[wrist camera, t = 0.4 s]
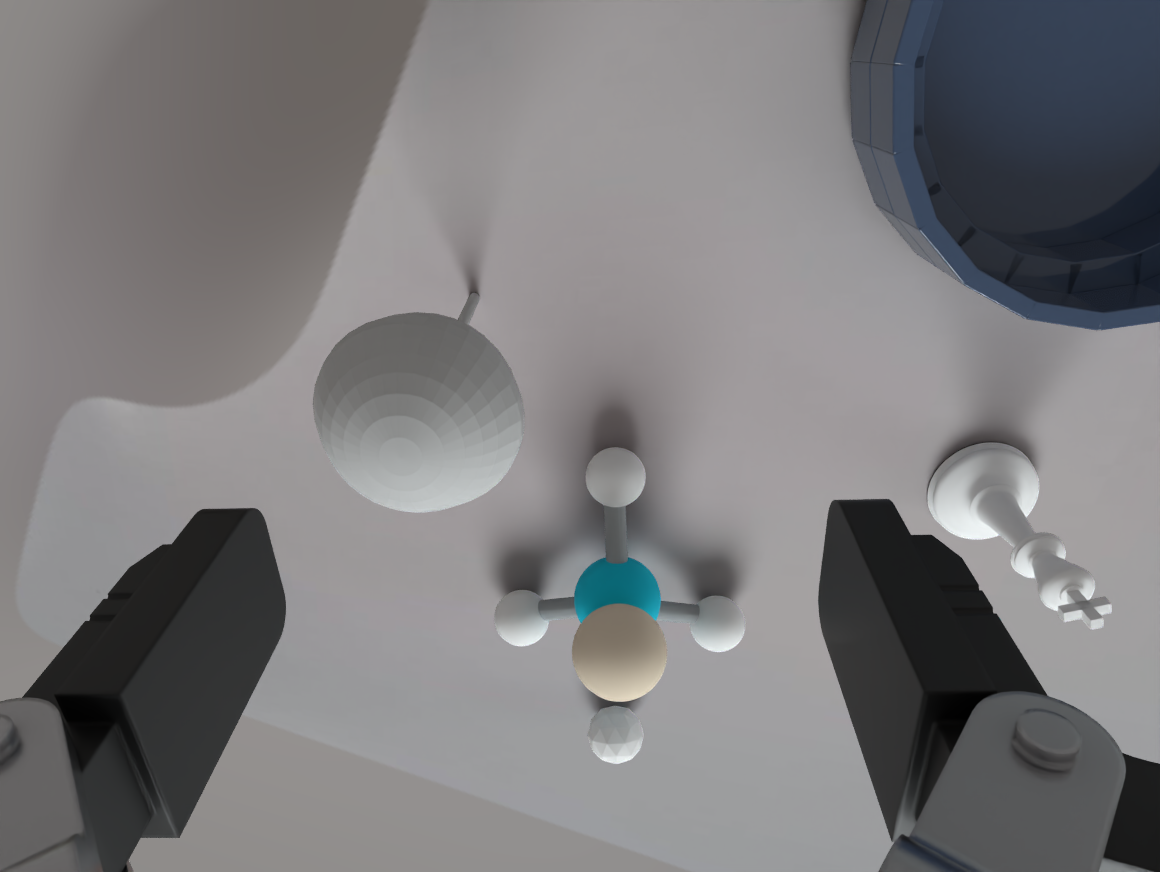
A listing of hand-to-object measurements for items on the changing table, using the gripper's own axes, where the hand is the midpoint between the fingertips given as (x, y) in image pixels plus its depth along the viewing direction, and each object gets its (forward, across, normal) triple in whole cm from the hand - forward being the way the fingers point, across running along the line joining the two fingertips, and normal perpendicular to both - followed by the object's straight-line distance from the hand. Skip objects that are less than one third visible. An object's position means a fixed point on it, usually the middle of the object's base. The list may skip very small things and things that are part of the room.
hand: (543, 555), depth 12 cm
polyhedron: (+23, -1, +28) cm, 36 cm away
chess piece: (+24, -18, +14) cm, 34 cm away
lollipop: (+24, +5, +4) cm, 25 cm away
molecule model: (+24, 0, +17) cm, 29 cm away
